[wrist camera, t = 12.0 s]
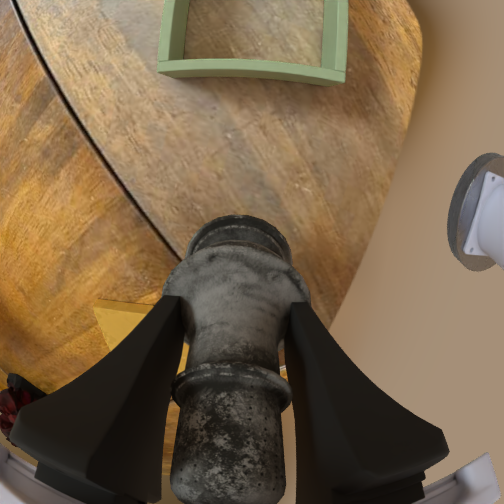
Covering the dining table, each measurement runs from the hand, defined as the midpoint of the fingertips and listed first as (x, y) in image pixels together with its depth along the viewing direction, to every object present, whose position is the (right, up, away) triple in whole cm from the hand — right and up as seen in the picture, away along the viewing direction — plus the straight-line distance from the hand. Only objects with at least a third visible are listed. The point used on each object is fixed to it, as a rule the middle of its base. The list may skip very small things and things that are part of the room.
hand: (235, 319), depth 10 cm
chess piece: (0, +2, +4) cm, 4 cm away
